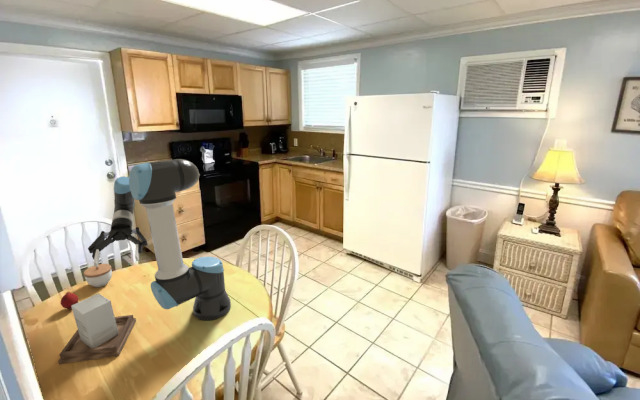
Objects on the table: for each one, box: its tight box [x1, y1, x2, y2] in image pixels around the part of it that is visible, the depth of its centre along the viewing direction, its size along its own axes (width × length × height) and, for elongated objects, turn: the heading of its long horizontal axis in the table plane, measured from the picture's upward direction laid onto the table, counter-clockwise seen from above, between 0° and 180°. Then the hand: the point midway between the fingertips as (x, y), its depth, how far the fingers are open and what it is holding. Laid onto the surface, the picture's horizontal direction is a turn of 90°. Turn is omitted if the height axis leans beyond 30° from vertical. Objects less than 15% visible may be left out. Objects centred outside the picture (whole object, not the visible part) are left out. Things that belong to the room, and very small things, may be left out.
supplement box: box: [71, 292, 119, 348], centre depth 111 cm, size 9×9×15 cm
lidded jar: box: [83, 263, 113, 288], centre depth 147 cm, size 11×11×9 cm
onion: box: [60, 291, 79, 310], centre depth 130 cm, size 6×6×8 cm
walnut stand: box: [57, 314, 137, 365], centre depth 114 cm, size 18×18×4 cm
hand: (116, 261), depth 119 cm, fingers open, 13 cm apart
